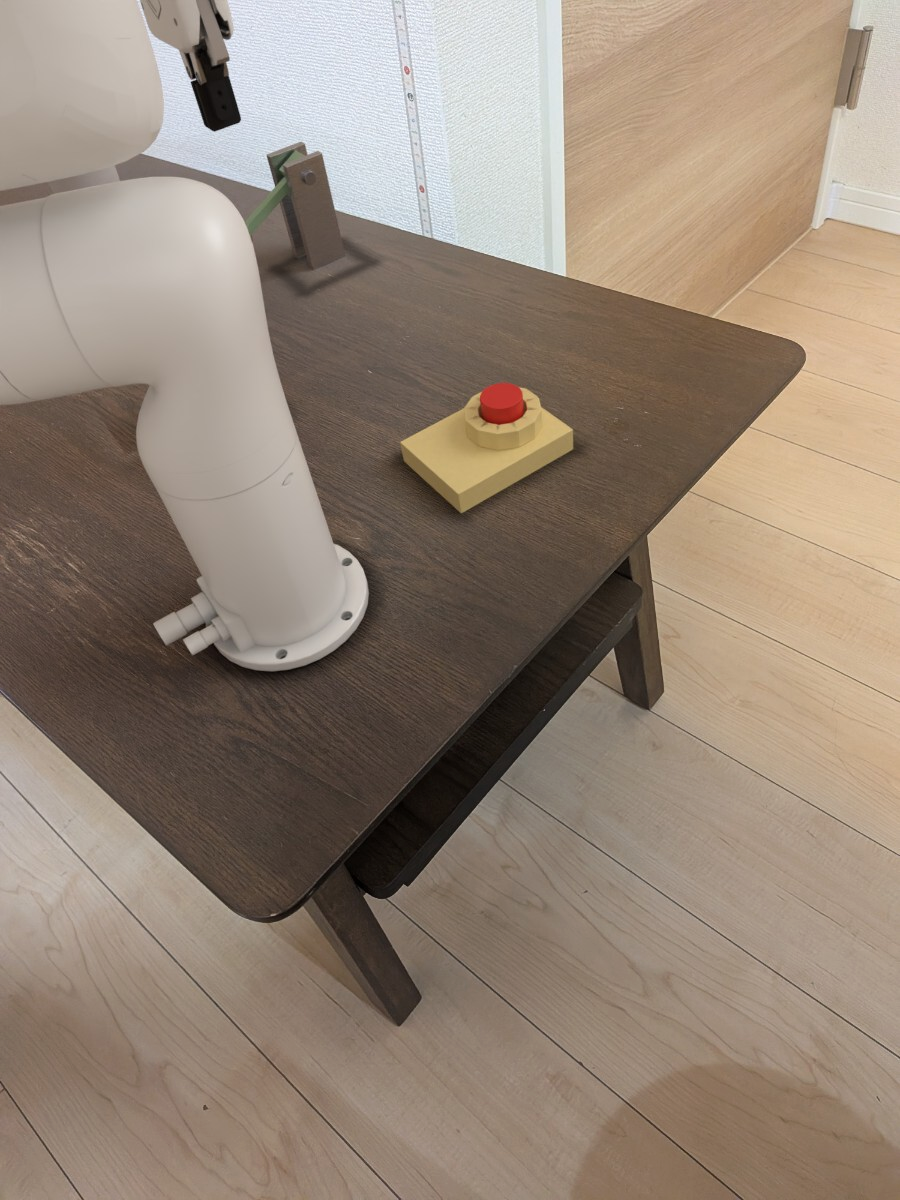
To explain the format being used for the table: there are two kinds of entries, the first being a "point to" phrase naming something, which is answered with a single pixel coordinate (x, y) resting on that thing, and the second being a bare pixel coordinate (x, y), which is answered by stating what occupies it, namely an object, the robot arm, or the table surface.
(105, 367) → the robot arm
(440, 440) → the button box
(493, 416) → the button
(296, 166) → the bracket
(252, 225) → the lever
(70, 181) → the coffee cup
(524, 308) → the table surface
